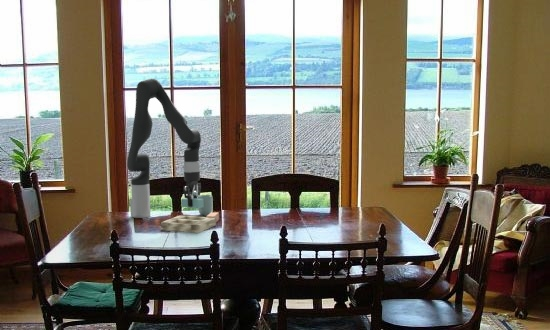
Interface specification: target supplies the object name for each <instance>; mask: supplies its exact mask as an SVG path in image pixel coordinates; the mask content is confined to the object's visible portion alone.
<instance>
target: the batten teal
mask: <svg viewBox="0 0 550 330" xmlns="http://www.w3.org/2000/svg"><path fill="white" fill-rule="evenodd" d="M192 204H193V206H192V207H188V199H187V198H185V197H183V198H181V207H182V208H190V209H191V208H192V209H198V208H202V207H204V200H203V199H199V198H198V197H197V198H193V197H192Z"/></svg>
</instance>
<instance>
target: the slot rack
mask: <svg viewBox="0 0 550 330" xmlns="http://www.w3.org/2000/svg"><path fill="white" fill-rule="evenodd" d="M216 225H217V222H216V218H209V217H206V216H193V215H181V214H179V215H177V216H175V217H172V218H169V219H166V220H164V221H162V222H160V230H161V231H173V232H183V231H184V232H186V233H195V234H196V233H197V234H200V233H201V232H204V231H206V230H208V229H210V228H213V227H215V226H216Z"/></svg>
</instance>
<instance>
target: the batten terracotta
mask: <svg viewBox="0 0 550 330" xmlns="http://www.w3.org/2000/svg"><path fill="white" fill-rule="evenodd" d="M219 215H220V214H219V211H218V212H216V211H214V212H213V211H212V212H211V213H210V214H209V215H205V217H209V218H216V223H217V222H218V221H219V220H220V216H219Z"/></svg>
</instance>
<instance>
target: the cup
mask: <svg viewBox="0 0 550 330" xmlns="http://www.w3.org/2000/svg"><path fill="white" fill-rule="evenodd" d="M197 198H199V199H203V200H204V207H202V208H197V209H198V212H199V213H198V214H199V215H202V216H207V215H209V214H210V213H211V212H213V201H214V199H213V195H211V194H202V195H201V194H200V195H199V196H198V197H197Z"/></svg>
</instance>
